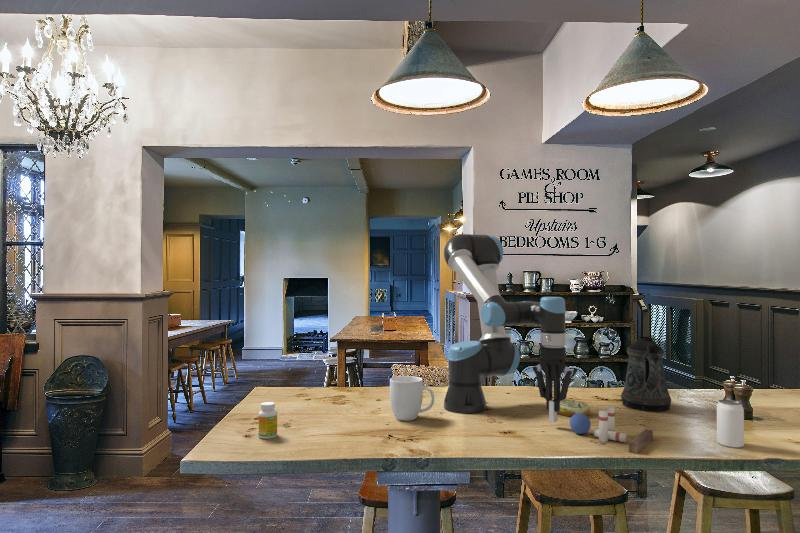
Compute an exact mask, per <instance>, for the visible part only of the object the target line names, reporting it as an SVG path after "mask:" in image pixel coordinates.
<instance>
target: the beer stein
mask: <svg viewBox="0 0 800 533" xmlns="http://www.w3.org/2000/svg"><path fill="white" fill-rule="evenodd" d="M626 353H627V355H628V360H627V370H626V374H625V381H624V386H623V390H622V392H621V394H620V399H621V401H622V402H621V403H622V405H623V406H624V407H625V408H629V409H630V410H636V411H640V412H641V411H642V412H648V413H649V412H650V413H654V412H655V413H656V412H657V413H661V412H666V411H669V410H670V408H671V405H672V397H671V395H670V393H669V392H670V391H669V390H668V384H667V381H666V376H665V368H664V362H663V358H664V356H665V350H664V349H663V348H662V347H661V346H660V345H659V344H657V343H656V342H655V341H654V339H653V337H650V336H639V337H638V339H637V340H636V341H635V342H634V343H632V344H631V345H629V346H628V347H627V348H626Z"/></svg>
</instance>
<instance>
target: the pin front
mask: <svg viewBox="0 0 800 533" xmlns="http://www.w3.org/2000/svg"><path fill="white" fill-rule="evenodd" d="M593 436H594V438H599V428H595V429H594V432H593ZM627 438H628V435H627V434H626V433H622V432H618V431H615V432H612V431H608V441H609V440H610V441H615V442H619V443H627V441H628V439H627Z"/></svg>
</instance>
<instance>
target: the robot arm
mask: <svg viewBox="0 0 800 533" xmlns="http://www.w3.org/2000/svg"><path fill="white" fill-rule="evenodd" d="M503 256H504V248H503V244H502V242H501V240H500V239H499V238H498V237H497V236H494V235H490V234H487V233H486V234H485V233H484V234H483V233H482V234H473V233H472V234H471V233H469V234H468V233H467V234H466V233H460V234H456V235H454V236H452V237H450V238H449V239H448V241H447V242H446V243H445V246H444V249H443V258H444V261H445V264H446V265H447V266H448V268H449V269H450V270H451V271H453V272H456V274H457V275H458V276H459V278H460V279H461V281H462V283H464V285H465V287H467V289H468V290H469V292H470V293H471V295H472V297H473V298H474V299H475V300H476V302H477V310H478V315H479V322H480V323H479V324H480V328H481V337H480V338H479V340H469V341H468V340H464V341H459V342H455V343H453V344H451V345H450V347H449V348H448V355H447V356H448V358H447V359H448V387H447V390H446V394H445V397H444V399H443V400H444V401H443V408H444V409H445V410H447V411H449V412H453V413H460V414H461V413H462V414H474V413H481V412H484V411H486V410H487V400H486V397H485V394H484V393H485V392H484V391H483V387H482V378H488V377H498V376H499V377H502V376H508V375H511V374H513V373H514V372H515V371H516V370H517V369H518V367H519V364H520V359H521V358H520V357H521V355H520V349H519V348H518V347H517V345H516V344H515V343H513V342H512V340H511V337H510V336H509V335H508V334H507V333H506V329H505V326H507V327H508V326H524V325H525V326H526V325H527V326H528V325H531V326H532V325H533V326H534V325H535V326H539V327H540V330H539V331H540V345H541V346H540V360H539V364H537V365H535V366H532V370H533V372H534V374H535V378H536V381H537V387H538V391H539V395H540V398H543V399H545V401H546V402H545V403H546V411H548V422H549V423H553V424H554V423H556V422H557V421H558V413H557V412H558V411H560V401H562V400H567V394H568V391H569V387H570V383H571V379H572V376H574V374H575V370H574V369H570V367H568V365H567V362H566V347H565V346H566V312H567V310H566V301H565V299H564V297H561V296H542V297H541V298H540V301H539V302H538V301H533V300H532V301H531V300H524V301H522V300H521V301H509V302H508V301H506V300H505V298H503V296H501V294H500V290H499V284H498V277H497V270H499V268H500V263H501V262H502V261H503ZM543 372H544V374H543ZM563 373H564V377H563V380H562V384H561V379H562V374H563Z"/></svg>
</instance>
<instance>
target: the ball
mask: <svg viewBox="0 0 800 533" xmlns="http://www.w3.org/2000/svg"><path fill="white" fill-rule="evenodd" d="M591 425H592V423H591V420H590V418H589V416H586V415H584V414H581V413H577V414H574V415H573V416H570V419H569V426H570V429H571V430H572V431H573V432H574V433H575V434H577V435H584V434H586V433H588V432H589V431H590V430H591V427H592V426H591Z"/></svg>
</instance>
